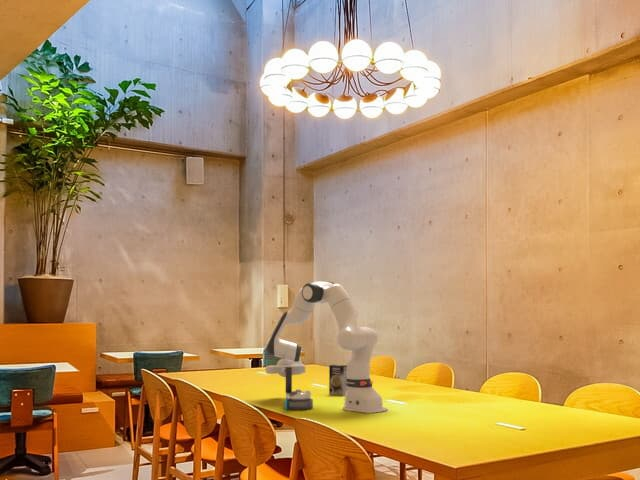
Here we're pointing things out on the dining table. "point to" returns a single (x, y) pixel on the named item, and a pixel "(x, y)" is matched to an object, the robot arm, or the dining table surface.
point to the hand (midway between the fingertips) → (286, 370)
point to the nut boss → (298, 405)
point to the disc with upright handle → (297, 394)
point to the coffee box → (337, 379)
